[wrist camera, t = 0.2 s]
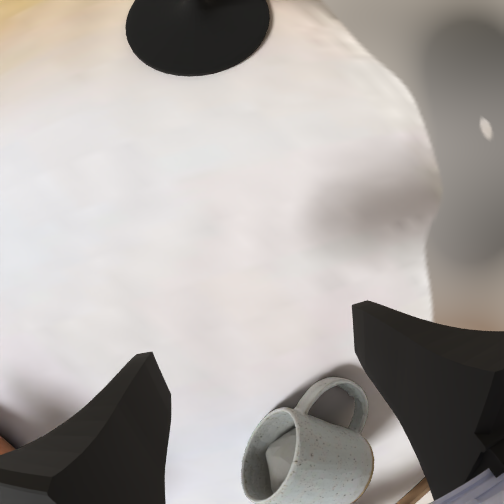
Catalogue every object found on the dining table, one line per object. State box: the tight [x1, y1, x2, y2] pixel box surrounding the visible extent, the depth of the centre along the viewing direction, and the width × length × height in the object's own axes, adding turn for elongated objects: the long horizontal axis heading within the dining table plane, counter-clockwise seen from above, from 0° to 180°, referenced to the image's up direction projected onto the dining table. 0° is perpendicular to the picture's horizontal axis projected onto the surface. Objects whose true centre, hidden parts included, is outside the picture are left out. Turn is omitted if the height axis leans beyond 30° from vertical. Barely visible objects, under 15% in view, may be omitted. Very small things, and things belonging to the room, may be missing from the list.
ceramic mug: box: [241, 377, 374, 504], centre depth 20 cm, size 11×8×8 cm
